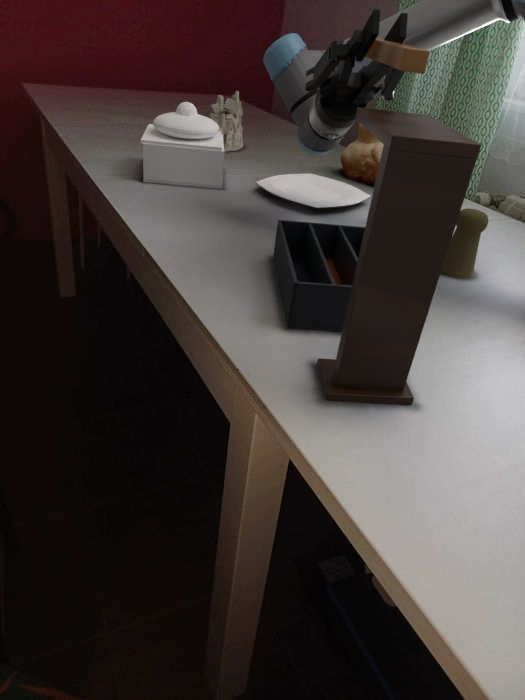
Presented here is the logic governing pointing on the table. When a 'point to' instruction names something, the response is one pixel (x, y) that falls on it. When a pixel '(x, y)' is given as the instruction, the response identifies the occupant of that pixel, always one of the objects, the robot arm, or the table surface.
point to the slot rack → (316, 272)
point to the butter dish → (183, 149)
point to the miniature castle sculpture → (228, 120)
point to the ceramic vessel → (362, 157)
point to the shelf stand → (399, 254)
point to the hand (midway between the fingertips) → (390, 23)
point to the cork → (465, 243)
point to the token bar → (399, 56)
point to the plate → (312, 191)
